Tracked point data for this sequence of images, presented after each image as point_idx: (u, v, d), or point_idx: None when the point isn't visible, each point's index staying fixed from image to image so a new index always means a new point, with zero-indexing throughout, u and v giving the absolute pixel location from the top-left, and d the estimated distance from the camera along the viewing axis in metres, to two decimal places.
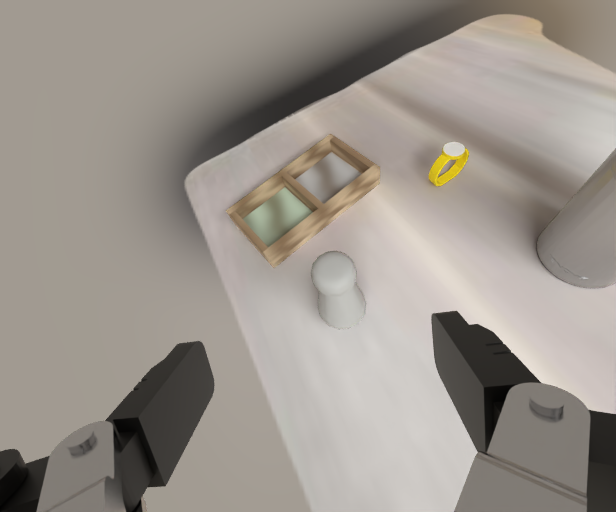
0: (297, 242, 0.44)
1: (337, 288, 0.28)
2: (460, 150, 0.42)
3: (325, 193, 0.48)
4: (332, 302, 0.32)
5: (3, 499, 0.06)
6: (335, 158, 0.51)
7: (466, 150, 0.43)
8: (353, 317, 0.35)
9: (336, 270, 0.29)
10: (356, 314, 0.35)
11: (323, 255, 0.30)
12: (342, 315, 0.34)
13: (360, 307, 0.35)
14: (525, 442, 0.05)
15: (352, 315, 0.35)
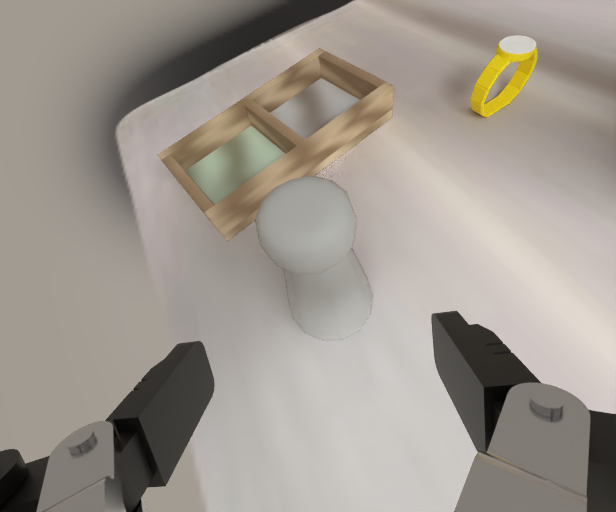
0: None
1: (309, 252, 0.12)
2: (528, 45, 0.25)
3: (310, 131, 0.32)
4: (306, 289, 0.16)
5: (3, 499, 0.06)
6: (326, 85, 0.35)
7: (535, 50, 0.26)
8: (350, 319, 0.19)
9: (309, 211, 0.12)
10: (356, 314, 0.19)
11: (283, 184, 0.14)
12: (328, 316, 0.18)
13: (363, 301, 0.19)
14: (525, 442, 0.05)
15: (347, 317, 0.18)
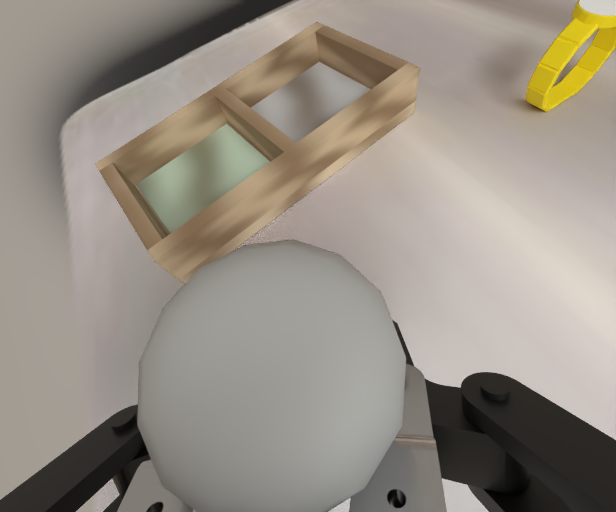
0: (237, 229, 0.20)
1: None
2: None
3: (304, 131, 0.24)
4: None
5: None
6: (326, 71, 0.27)
7: None
8: None
9: (275, 374, 0.04)
10: None
11: (217, 265, 0.05)
12: None
13: None
14: None
15: None
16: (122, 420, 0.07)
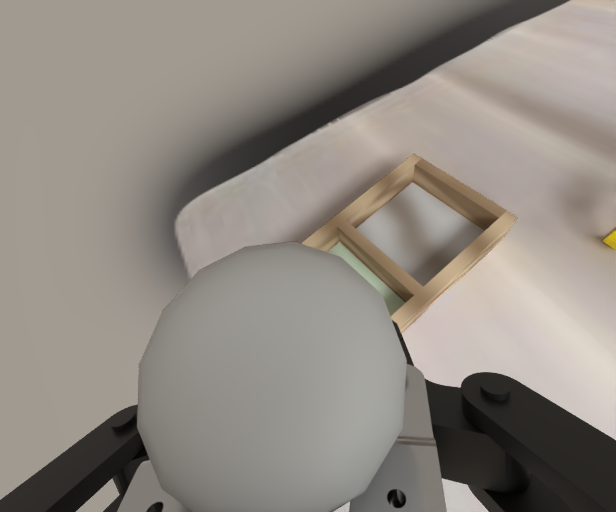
0: None
1: None
2: None
3: (412, 257, 0.28)
4: None
5: None
6: (421, 193, 0.31)
7: None
8: None
9: (275, 377, 0.04)
10: None
11: (217, 266, 0.05)
12: None
13: None
14: None
15: None
16: (122, 419, 0.07)
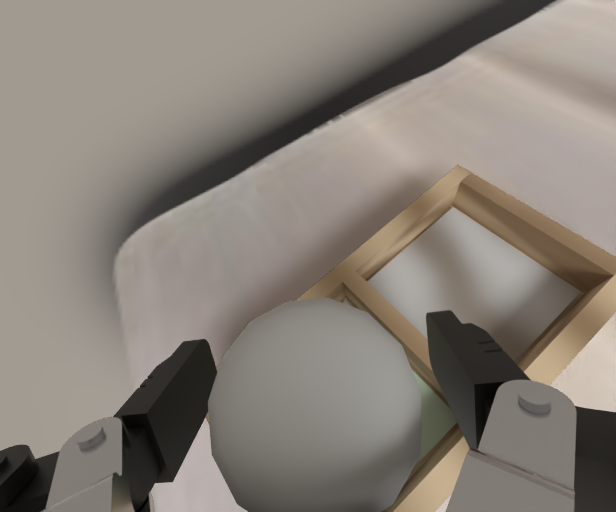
0: None
1: None
2: None
3: None
4: None
5: (14, 493, 0.06)
6: (467, 225, 0.21)
7: None
8: None
9: (325, 418, 0.05)
10: None
11: (267, 321, 0.07)
12: None
13: None
14: (512, 437, 0.05)
15: None
16: None
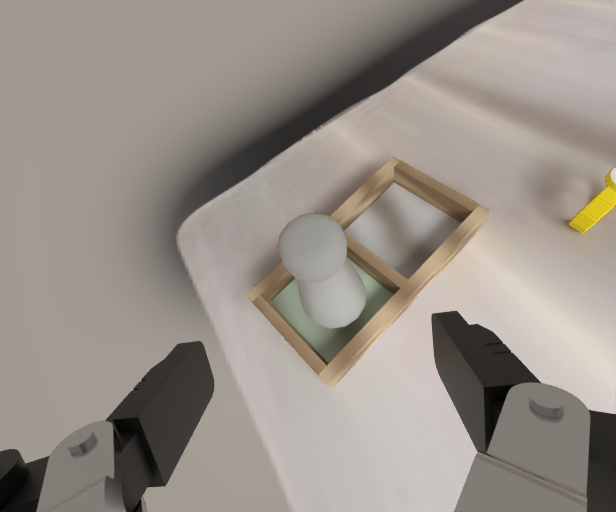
0: (369, 345, 0.27)
1: (317, 268, 0.18)
2: None
3: (398, 253, 0.31)
4: (316, 291, 0.22)
5: (3, 499, 0.06)
6: (402, 193, 0.34)
7: None
8: (349, 310, 0.25)
9: (315, 240, 0.18)
10: (354, 305, 0.25)
11: (294, 220, 0.19)
12: (333, 309, 0.24)
13: (358, 295, 0.25)
14: (525, 442, 0.05)
15: (347, 308, 0.24)
16: None
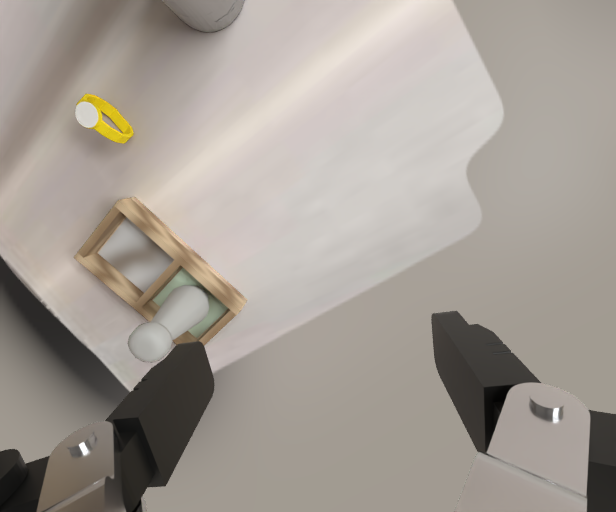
0: (219, 281, 0.44)
1: (162, 343, 0.33)
2: (88, 107, 0.35)
3: (156, 256, 0.44)
4: (180, 330, 0.37)
5: (3, 499, 0.06)
6: (106, 248, 0.44)
7: (84, 98, 0.35)
8: (194, 301, 0.41)
9: (145, 345, 0.33)
10: (191, 298, 0.41)
11: (134, 355, 0.33)
12: (193, 313, 0.40)
13: (185, 296, 0.40)
14: (525, 442, 0.05)
15: (193, 303, 0.40)
16: None
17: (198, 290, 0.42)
